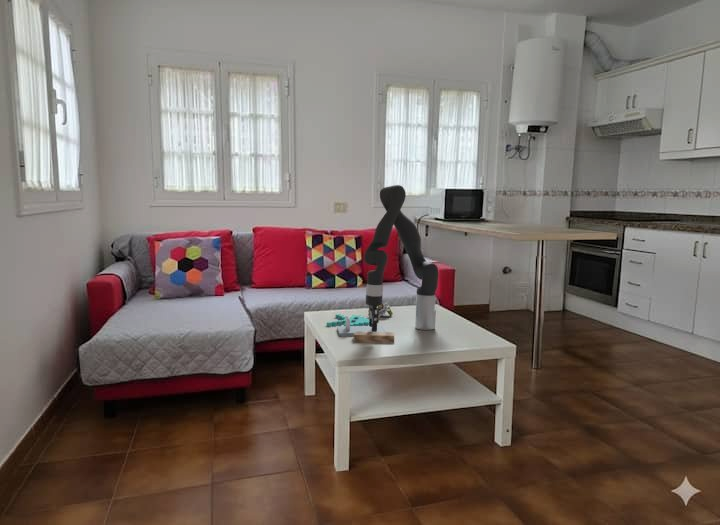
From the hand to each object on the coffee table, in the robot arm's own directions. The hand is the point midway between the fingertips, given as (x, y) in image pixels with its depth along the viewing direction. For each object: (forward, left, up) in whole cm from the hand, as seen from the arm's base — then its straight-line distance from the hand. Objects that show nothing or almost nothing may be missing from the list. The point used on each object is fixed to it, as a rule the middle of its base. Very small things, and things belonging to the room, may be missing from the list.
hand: (372, 329), depth 220 cm
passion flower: (-12, -44, -5) cm, 46 cm away
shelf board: (-1, 0, -6) cm, 6 cm away
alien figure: (+6, -31, -6) cm, 32 cm away
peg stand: (+3, -13, -5) cm, 14 cm away
